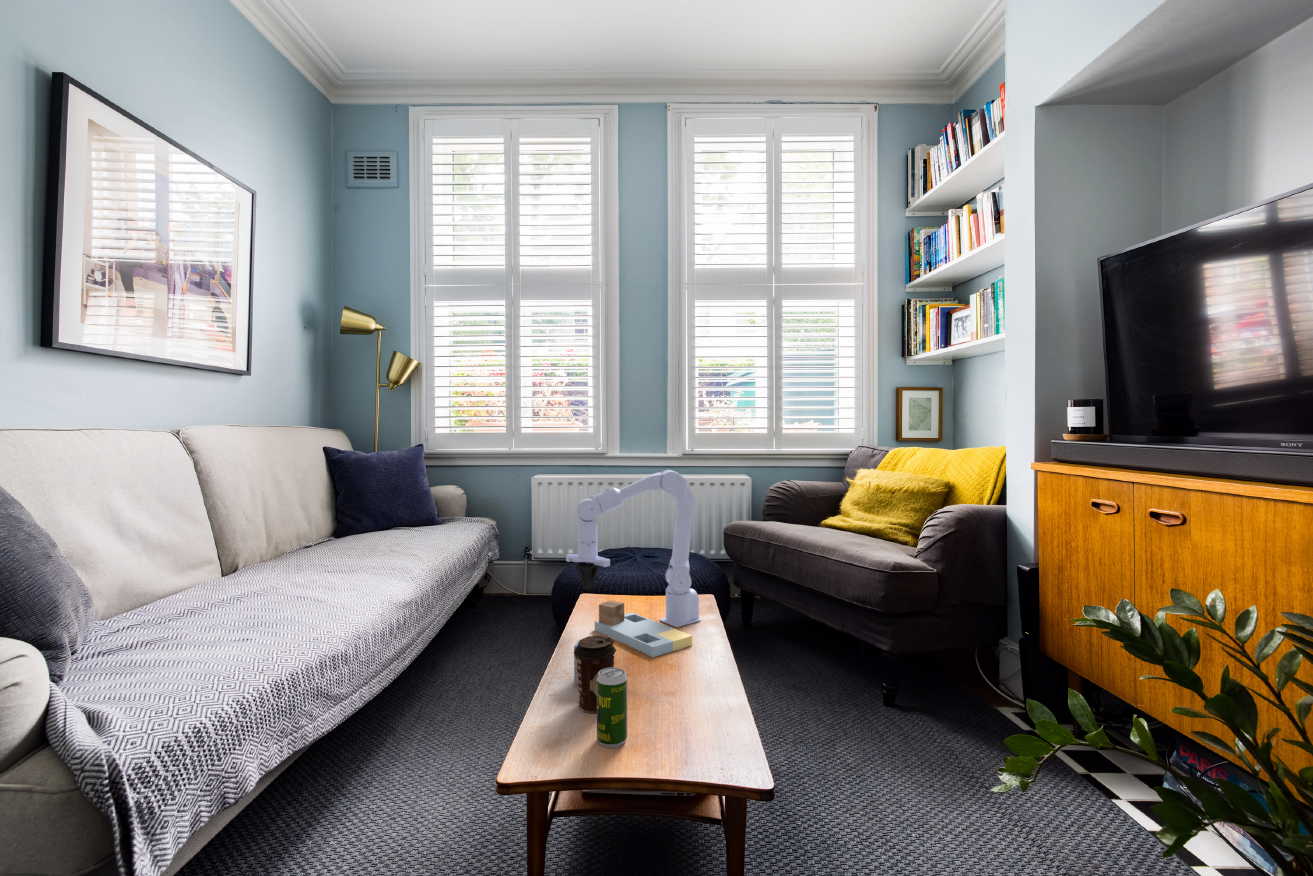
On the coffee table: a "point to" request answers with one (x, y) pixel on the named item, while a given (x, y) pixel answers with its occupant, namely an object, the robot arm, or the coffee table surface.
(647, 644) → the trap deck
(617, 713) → the green drink can
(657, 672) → the coffee table surface
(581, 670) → the coffee cup
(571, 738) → the coffee table surface
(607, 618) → the walnut cube
